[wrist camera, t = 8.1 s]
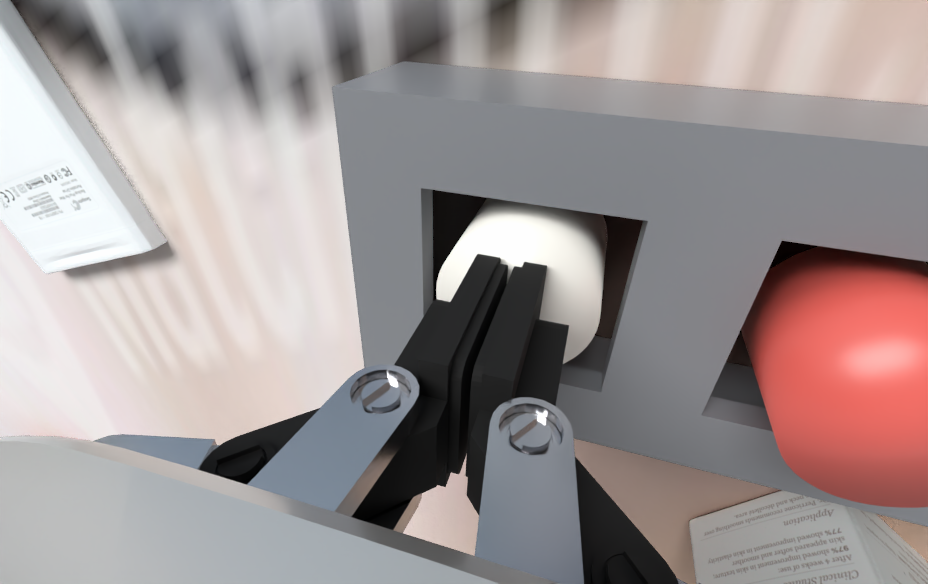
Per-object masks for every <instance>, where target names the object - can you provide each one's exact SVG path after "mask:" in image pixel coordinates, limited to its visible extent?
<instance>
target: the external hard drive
mask: <svg viewBox="0 0 928 584" xmlns="http://www.w3.org/2000/svg"><path fill="white" fill-rule="evenodd" d="M0 220H1V221H2V222H3V224H4V225H5V226H6V227H7V228H8V229H9V231H10V232H11V233H12V234H13V235H14V237H15V238H16V239H17V240H18V241H19V243H20V244H21V245H22V246H23V247H24V249H25V250H26V251H27V252H28V254H29V255H30V256H31V258H32V259H33V260H34V261H35V262H36V264H37V265H38V266H39V267H40V268H41V269H42V271H43V272H44V273H46V274H50V273H54V272H59V271H63V270H67V269H72V268H76V267H81V266H85V265H90V264H95V263H100V262H104V261H109V260H114V259H118V258H123V257H127V256H132V255H137V254H142V253H145V252H148V251H151V250H154V249H156V248H157V247H159V246H161V245H163V244H164V243H166V242H167V240H166V238H165V237H164V235H163V234H162V232H161V231H160V229H159V227H158V226H157V224H156V223H155V221H154V220H153V218H152V217H151V215H150V214H149V212H148V210H147V209H146V207H145V206H144V204H143V203H142V201H141V200H140V198H139V197H138V195H137V194H136V192H135V190H134V189H133V187H132V186H131V184H130V183H129V181H128V180H127V178H126V177H125V175H124V174H123V172H122V170H121V169H120V167H119V166H118V164H117V163H116V161H115V160H114V158H113V157H112V155H111V154H110V152H109V150H108V149H107V147H106V146H105V144H104V143H103V141H102V140H101V138H100V137H99V135H98V134H97V132H96V131H95V129H94V127H93V126H92V124H91V123H90V121H89V120H88V118H87V117H86V115H85V114H84V112H83V111H82V109H81V108H80V106H79V105H78V103H77V101H76V100H75V98H74V97H73V95H72V94H71V92H70V91H69V89H68V88H67V86H66V85H65V83H64V82H63V80H62V79H61V77H60V75H59V74H58V72H57V71H56V69H55V68H54V66H53V65H52V63H51V62H50V60H49V59H48V57H47V56H46V54H45V52H44V51H43V49H42V48H41V46H40V45H39V43H38V42H37V40H36V39H35V37H34V36H33V34H32V32H31V31H30V29H29V28H28V26H27V25H26V23H25V22H24V20H23V19H22V17H21V15H20V14H19V12H18V11H17V9H16V8H15V6H14V5H13V3H12V2H11V0H0Z"/></svg>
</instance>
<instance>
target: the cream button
mask: <svg viewBox="0 0 928 584" xmlns="http://www.w3.org/2000/svg"><path fill="white" fill-rule="evenodd" d="M606 249H607V228H606V223H605V220H604V216H603V214H596V213H589V212H582V211H575V210H568V209H562V208H555V207H548V206H541V205H534V204H527V203H520V202H513V201H507V200H500V199H493V198H487V199H486V200H485V202H484V203H483V205H482V206H481V208H480V209H479V211H478V212H477V214H476V215H475V217H474V218H473V220H472V221H471V223H470V224H469V226H468V227H467V229H466V230H465V232H464V233H463V235H462V236H461V238H460V239H459V241H458V242H457V244H456V245H455V247H454V248H453V250H452V251H451V253H450V254H449V256H448V257H447V259H446V261H445V262H444V264H443V265H442V267H441V270H440V272H439V275H438V279H437V285H436V298H437V299H438V300H443V301H448V302H451V300H452V298H453V296H454V295H455V293H456V291H457V289H458V287H459V286H460V284H461V282H462V280H463V278H464V277H465V275H466V273H467V271H468V270H469V268H470V266H471V264H472V262H473V261H474V259H475V257H476V255H477V254H482V255H488V256H494V257H500V259H501V263H500V264H505V265H508V275H507V283H508V280H509V278H510V275H511V273H512V270H513V268H514V266H517V267H522V266H523V263H524V262H529V263H535V264H541V265H547V272H546V279H545V285H544V292H543V298H542V305H541V311H540V318H539V319H540V320H545V321H550V322H555V323H560V324H565V325H569V330H568V336H567V342H566V348H565V353H564V359H563V364H564V363H566V362H568V361H569V360H571V359H573V358H574V357H576V356H577V355H579V354H580V353H581V352H582V351H583V350H584V349H585V348H586V347H587V346H588V345H589V343H590V342H591V341H592V339H593V337H594V335H595V333H596V331H597V328H598V325H599V321H600V315H601V304H602V293H603V282H604V271H605V260H606Z"/></svg>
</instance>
